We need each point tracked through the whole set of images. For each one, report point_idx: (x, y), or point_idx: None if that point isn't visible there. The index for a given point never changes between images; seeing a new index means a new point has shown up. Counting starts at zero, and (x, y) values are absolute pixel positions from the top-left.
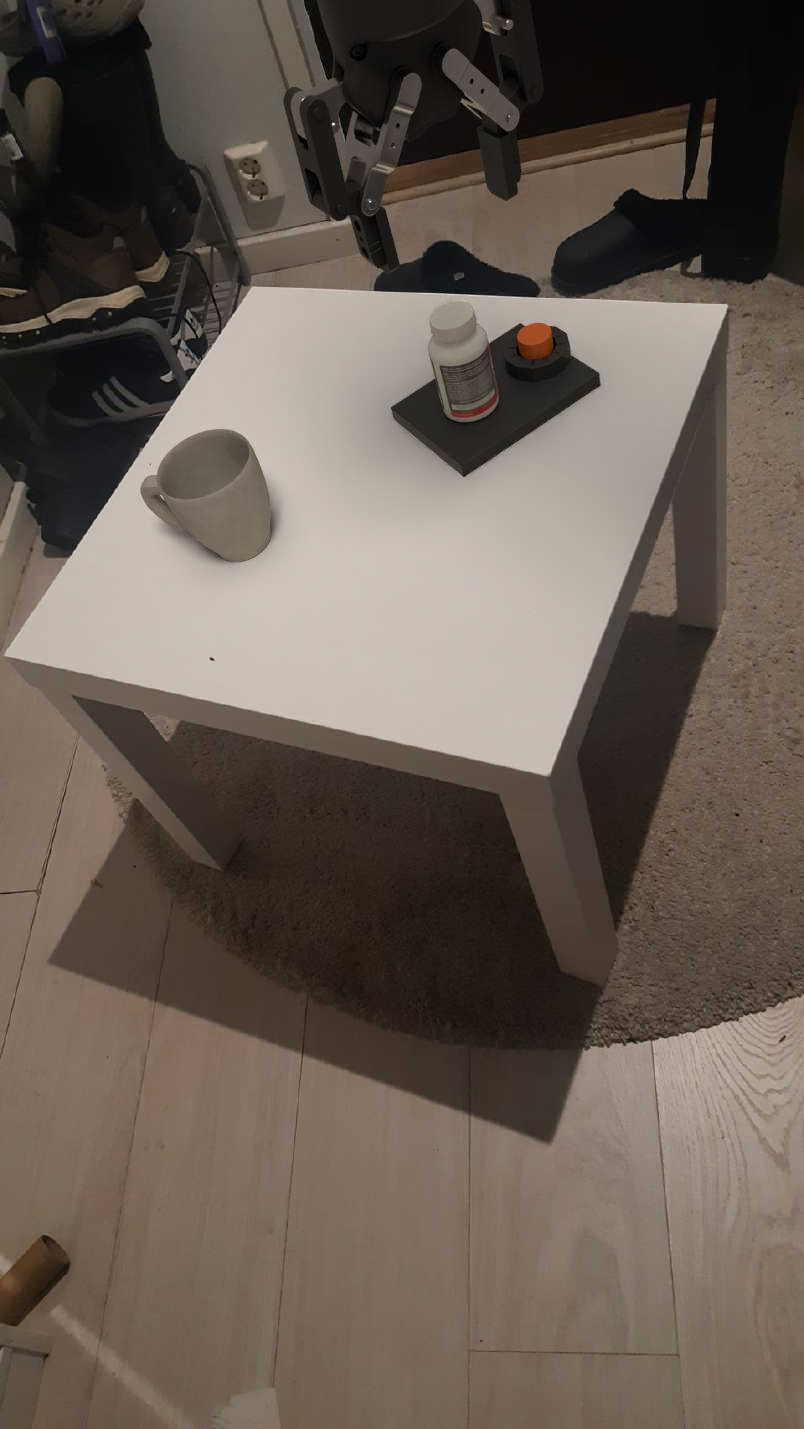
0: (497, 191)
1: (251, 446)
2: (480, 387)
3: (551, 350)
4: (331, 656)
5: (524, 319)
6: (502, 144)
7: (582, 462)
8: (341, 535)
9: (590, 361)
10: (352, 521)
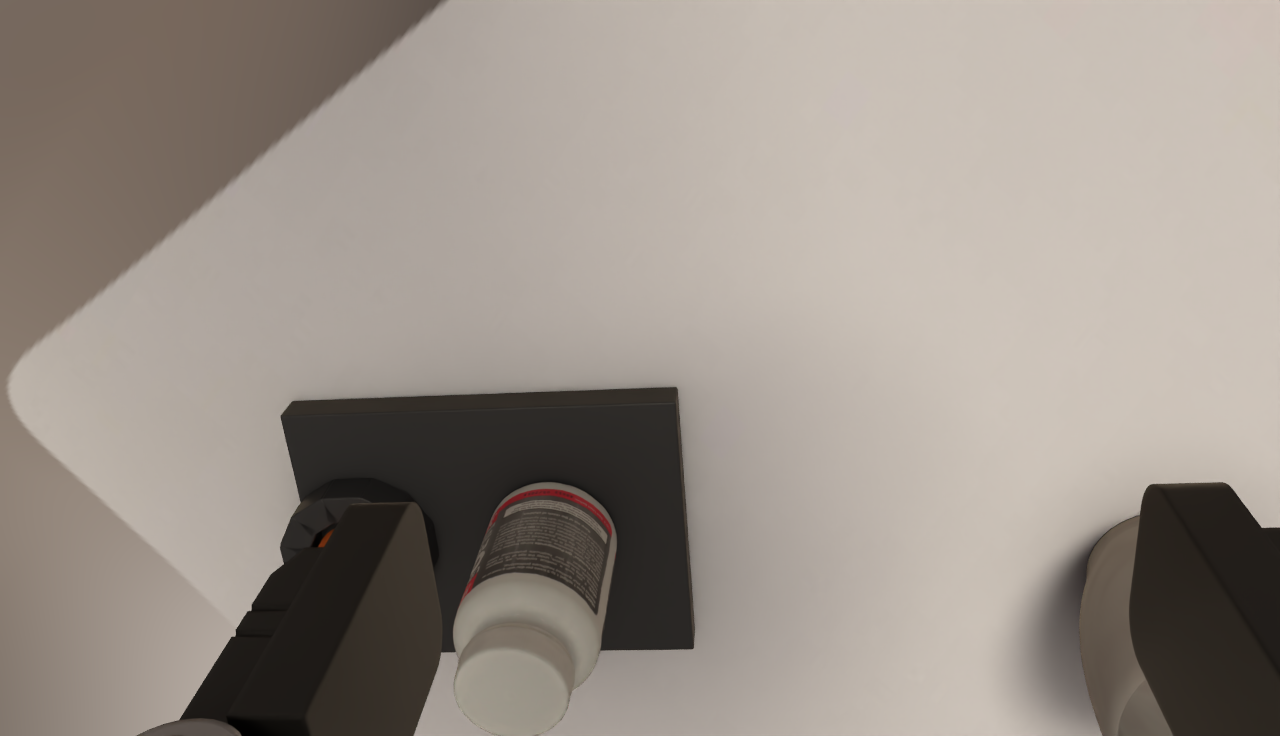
0: (424, 588)
1: (1113, 700)
2: (536, 525)
3: (333, 529)
4: (1233, 144)
5: None
6: (305, 688)
7: (449, 239)
8: (985, 433)
9: (272, 473)
10: (941, 450)
